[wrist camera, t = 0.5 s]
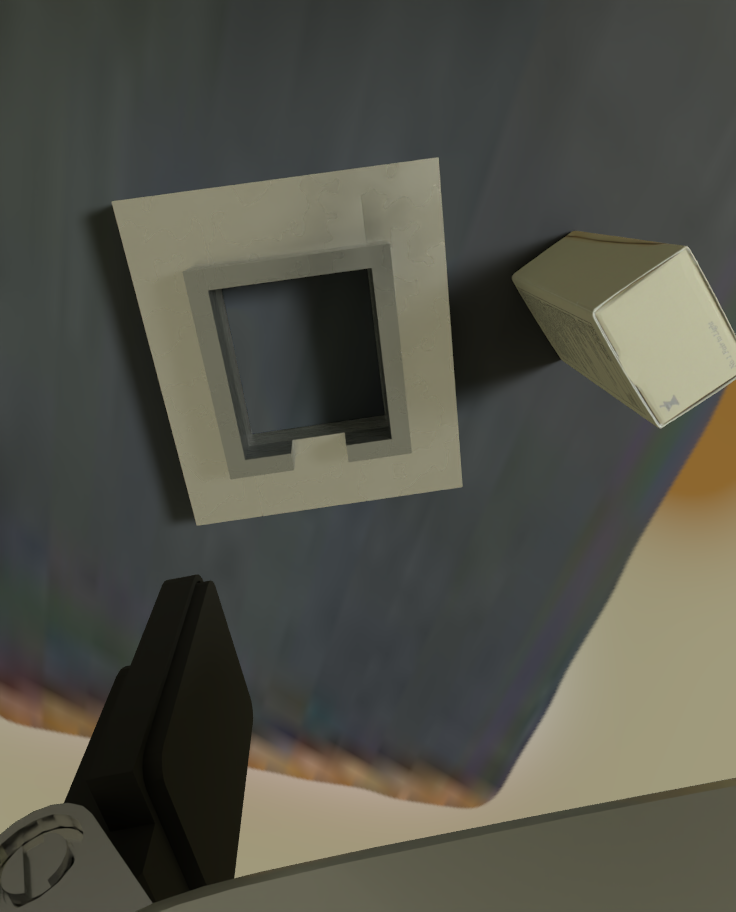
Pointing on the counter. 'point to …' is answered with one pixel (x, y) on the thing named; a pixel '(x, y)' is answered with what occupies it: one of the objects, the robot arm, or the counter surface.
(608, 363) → the skincare box
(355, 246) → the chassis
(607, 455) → the counter surface
